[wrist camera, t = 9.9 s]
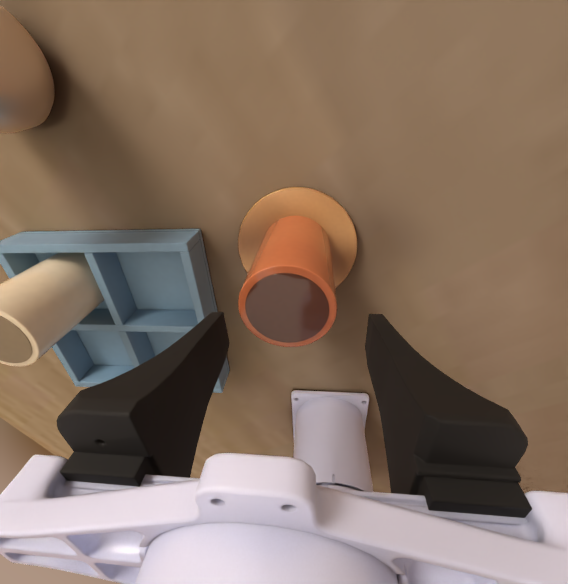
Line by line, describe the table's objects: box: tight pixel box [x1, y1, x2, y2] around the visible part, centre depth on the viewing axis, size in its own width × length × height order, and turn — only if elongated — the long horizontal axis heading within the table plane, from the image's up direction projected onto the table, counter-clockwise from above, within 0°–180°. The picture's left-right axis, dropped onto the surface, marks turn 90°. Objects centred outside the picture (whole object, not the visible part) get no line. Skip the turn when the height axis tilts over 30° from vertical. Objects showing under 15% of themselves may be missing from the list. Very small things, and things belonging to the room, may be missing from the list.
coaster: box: [238, 187, 357, 287], centre depth 22 cm, size 9×9×1 cm
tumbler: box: [238, 216, 337, 347], centre depth 19 cm, size 5×5×8 cm
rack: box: [0, 229, 230, 393], centre depth 26 cm, size 15×15×3 cm
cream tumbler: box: [0, 253, 104, 366], centre depth 22 cm, size 5×5×8 cm
